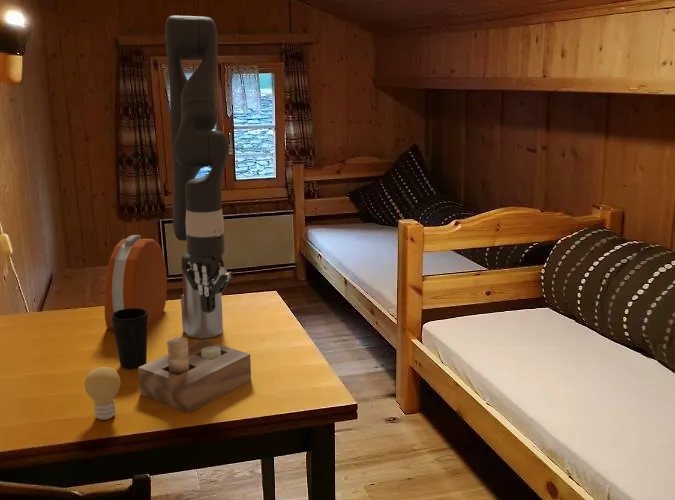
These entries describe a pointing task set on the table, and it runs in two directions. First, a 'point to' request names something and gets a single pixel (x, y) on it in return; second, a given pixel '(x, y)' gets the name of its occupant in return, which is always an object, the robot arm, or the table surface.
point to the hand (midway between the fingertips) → (208, 311)
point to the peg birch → (178, 355)
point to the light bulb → (103, 390)
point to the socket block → (195, 377)
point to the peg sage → (211, 352)
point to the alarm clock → (136, 278)
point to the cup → (131, 336)
